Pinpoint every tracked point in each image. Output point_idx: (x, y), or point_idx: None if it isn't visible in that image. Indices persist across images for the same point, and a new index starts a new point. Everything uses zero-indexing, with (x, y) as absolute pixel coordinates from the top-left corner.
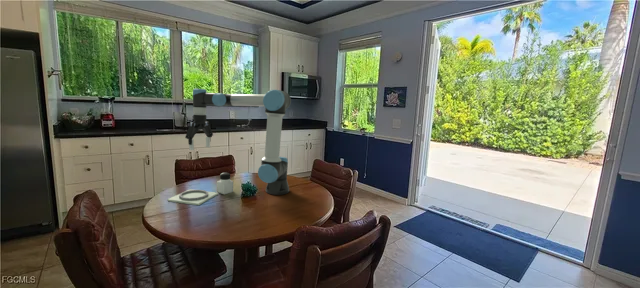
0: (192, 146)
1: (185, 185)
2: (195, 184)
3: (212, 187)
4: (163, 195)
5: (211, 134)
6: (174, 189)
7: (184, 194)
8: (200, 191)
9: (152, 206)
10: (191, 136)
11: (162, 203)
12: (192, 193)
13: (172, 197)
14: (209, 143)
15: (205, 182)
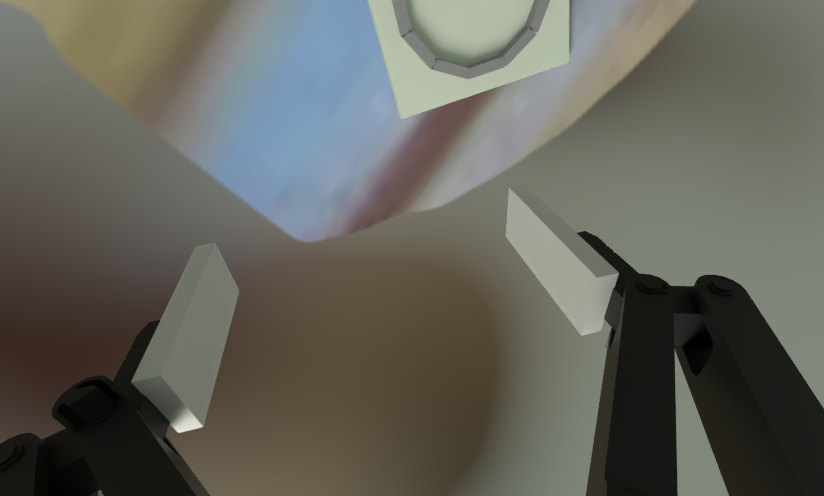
0: (549, 211)
1: (358, 211)
2: (311, 192)
3: (268, 64)
4: (513, 151)
5: (37, 464)
6: (430, 192)
7: (480, 60)
8: (406, 11)
9: (638, 50)
10: (669, 321)
11: (596, 49)
12: (445, 37)
13: (540, 67)
14: (192, 282)
15: (245, 186)
